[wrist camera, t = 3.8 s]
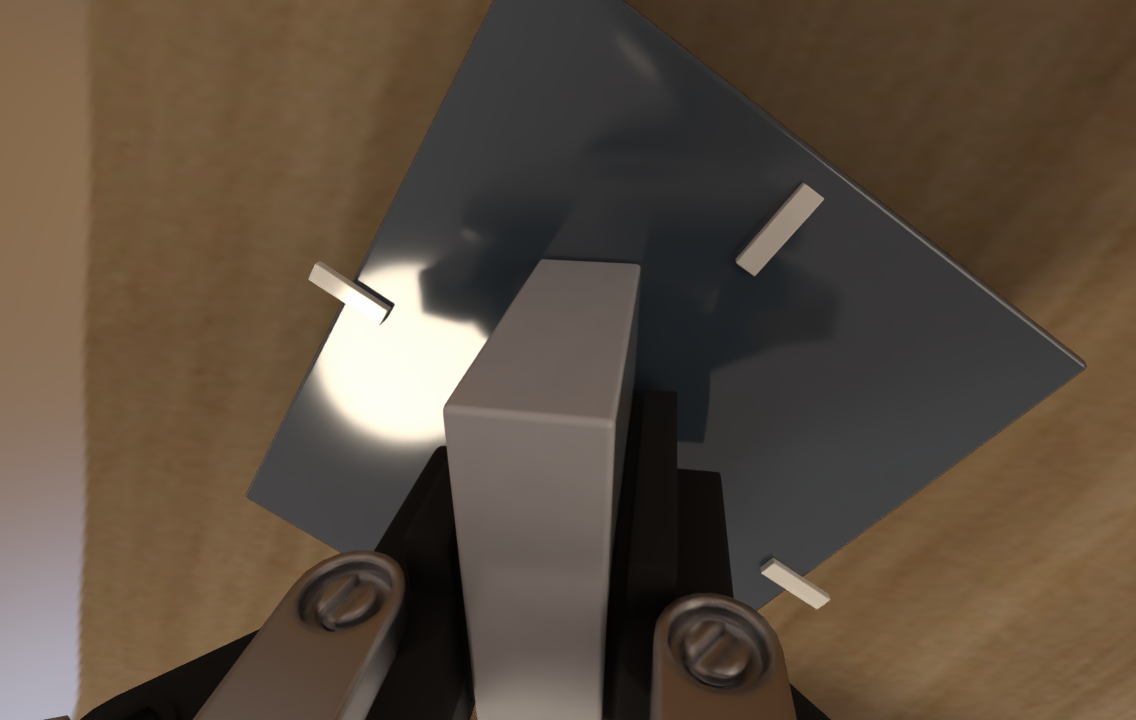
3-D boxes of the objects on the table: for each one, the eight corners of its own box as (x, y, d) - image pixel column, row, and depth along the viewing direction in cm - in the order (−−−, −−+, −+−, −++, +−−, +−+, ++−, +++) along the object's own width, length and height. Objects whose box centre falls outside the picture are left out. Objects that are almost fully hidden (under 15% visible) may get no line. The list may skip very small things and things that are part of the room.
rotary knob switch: (531, -70, 10) (484, -110, 7) (1033, 322, 11) (1128, 394, 9) (284, 420, 15) (212, 488, 13) (642, 638, 17) (636, 734, 14)
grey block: (538, 257, 9) (429, 421, 5) (641, 262, 9) (612, 438, 5) (546, 580, 13) (481, 842, 8) (622, 590, 12) (595, 864, 8)
